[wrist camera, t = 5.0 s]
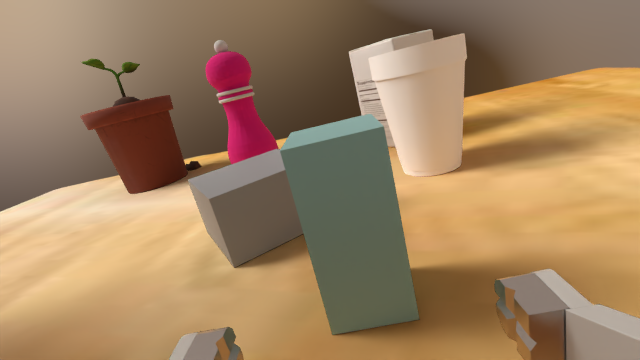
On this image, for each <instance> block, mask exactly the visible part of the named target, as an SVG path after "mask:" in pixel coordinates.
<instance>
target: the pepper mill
mask: <svg viewBox="0 0 640 360" xmlns="http://www.w3.org/2000/svg"><path fill="white" fill-rule="evenodd" d="M214 49H215V51H216V52H217V53H218V54H216V55H214V56H213V57H212V58H211V59H210V60H209V61H208V63H207V65H206V76H207V79H208V82H209V83H210V85H212V86H213V87H214V88H215V89H217V90H218V92H219V93H218V94H217V97H219V100H220V101H219V103H220V104H223V106H224V109H225V111H226V114H227V118H228V123H229V136H228V155H229V159H230V162H231V164H234V163H237V162H240V161H243V160H246V159H249V158H251V157H254V156H257V155H260V154H263V153H266V152H269V151H272V150H274V149H278V146H277V143H276V140H275V139H274V137H273V136H272V134H271V133H270V131H269V130H268V129H267V128H266V126H265V125H264V124H263V122H262V121H261V119H260V118H259V116H258V114H257V112H256V109H255V106H254V103H253V98H252V96H253V95H254V92H253V90H252V86H249V80H250V77H251V68H250V65H249V63H248V61H247V60H246V58H245V57H244V56H243V55H241V54H239V53H236V52H231V51H230V52H227V50H228V45H227V44H226V43H225V42H224V41H222V40H218V41H217V42H216V43H215V44H214Z"/></svg>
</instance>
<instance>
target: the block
mask: <svg viewBox="0 0 640 360" xmlns="http://www.w3.org/2000/svg"><path fill="white" fill-rule="evenodd" d="M280 153H281V157H282V160H283V164H284V167H285V171H286V174H287V178H288V181H289V185H290V188H291V192H292V195H293V199H294V202H295V206H296V209H297V213H298V216H299V220H300V223H301V227H302V230H303V234H304V237H305V240H306V244H307V247H308V251H309V254H310V258H311V261H312V265H313V268H314V272H315V275H316V279H317V282H318V286H319V289H320V293H321V296H322V300H323V303H324V307H325V310H326V314H327V317H328V321H329V324H330V328H331V331H332V335H335V334H341V333H346V332H352V331H358V330H363V329H369V328H374V327H380V326H386V325H391V324H397V323H403V322H408V321H414V320H419V314H418V308H417V303H416V297H415V292H414V287H413V281H412V276H411V270H410V265H409V259H408V254H407V249H406V243H405V238H404V232H403V227H402V221H401V216H400V210H399V205H398V200H397V194H396V189H395V183H394V178H393V172H392V167H391V162H390V156H389V151H388V145H387V140H386V134H385V129H384V126H383V125H382V124H381V123H380V122H379V121H378V120H377V119H376V118H375V117H374V116H373V115H372V114H367V115H363V116H359V117H354V118H350V119H346V120H342V121H338V122H334V123H329V124H326V125H322V126H317V127H313V128H309V129H305V130H300V131H296V132H292V133H291V134H290V135H289V137H288V138H287V140H286V142H285V143H284V145H283V147H282V148H281V150H280Z"/></svg>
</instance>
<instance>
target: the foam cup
mask: <svg viewBox="0 0 640 360" xmlns="http://www.w3.org/2000/svg"><path fill="white" fill-rule="evenodd" d="M466 58H467V54H466V45H465V35H464V34H458V35H454V36H450V37H446V38H442V39H438V40H434V41H430V42H426V43H422V44H419V45H415V46H411V47H407V48H403V49H399V50H396V51H392V52H388V53H385V54H381V55H377V56H374V57H370V58H368V60H369V65H370V70H371V76H372V81H375V84H376V87H377V90H378V94H379V97H380V100H381V103H382V106H383V109H384V112H385V116H386V119H387V122H388V125H389V128H390V131H391V134H392V137H393V141H394V144H395V147H396V150H397V153H398V156H399V159H400V163H401V166H402V167H403V171H404V172H405V174H408V175H412V176H433V175H440V174H444V173H447V172H450V171H453V170H455V169H456V168H458V167H460V166H461V162H462V160H461V158H462V139H463V104H464V69H465V59H466Z"/></svg>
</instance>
